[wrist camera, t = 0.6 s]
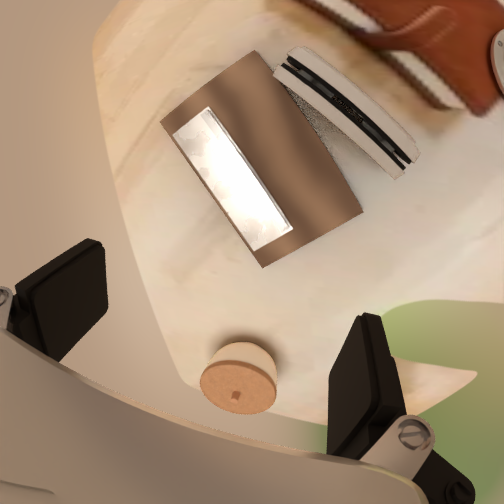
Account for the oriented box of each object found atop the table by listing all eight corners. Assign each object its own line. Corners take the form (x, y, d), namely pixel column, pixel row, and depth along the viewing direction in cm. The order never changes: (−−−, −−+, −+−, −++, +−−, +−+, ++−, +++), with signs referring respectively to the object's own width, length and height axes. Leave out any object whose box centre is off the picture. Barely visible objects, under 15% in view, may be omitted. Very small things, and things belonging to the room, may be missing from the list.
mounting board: (256, 52, 29) (254, 49, 28) (361, 209, 34) (363, 212, 33) (164, 121, 34) (159, 121, 33) (263, 264, 39) (262, 268, 38)
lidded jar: (231, 383, 49) (217, 425, 40) (203, 336, 46) (181, 378, 37) (291, 374, 46) (285, 419, 37) (267, 322, 42) (256, 368, 34)
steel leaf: (209, 106, 31) (205, 105, 30) (293, 227, 35) (292, 231, 34) (173, 134, 33) (168, 135, 32) (254, 250, 37) (252, 254, 36)
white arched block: (414, 142, 30) (442, 157, 21) (388, 170, 32) (407, 194, 24) (302, 46, 28) (291, 25, 19) (277, 76, 30) (257, 66, 22)
